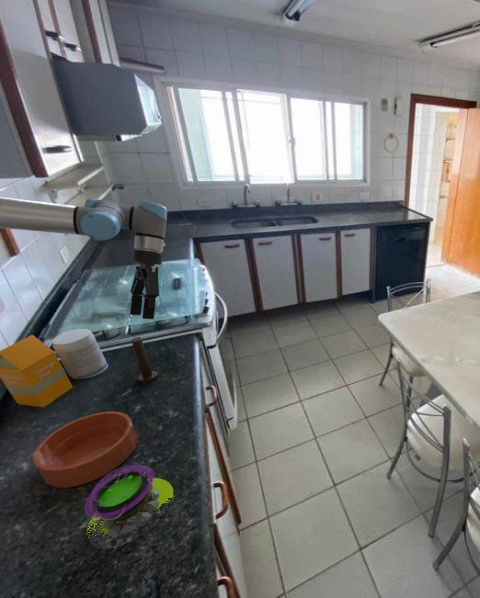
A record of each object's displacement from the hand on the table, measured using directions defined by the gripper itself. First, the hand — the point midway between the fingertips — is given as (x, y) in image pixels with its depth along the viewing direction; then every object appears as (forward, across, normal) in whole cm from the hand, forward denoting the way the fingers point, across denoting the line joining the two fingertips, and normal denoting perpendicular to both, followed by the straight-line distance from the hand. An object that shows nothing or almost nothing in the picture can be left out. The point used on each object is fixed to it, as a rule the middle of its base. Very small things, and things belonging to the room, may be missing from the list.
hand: (141, 316), depth 105 cm
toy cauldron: (+38, -44, +9) cm, 59 cm away
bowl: (+34, -21, +12) cm, 41 cm away
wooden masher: (+21, +1, -4) cm, 22 cm away
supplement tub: (+21, +18, +8) cm, 28 cm away
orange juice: (+26, +11, +17) cm, 34 cm away
